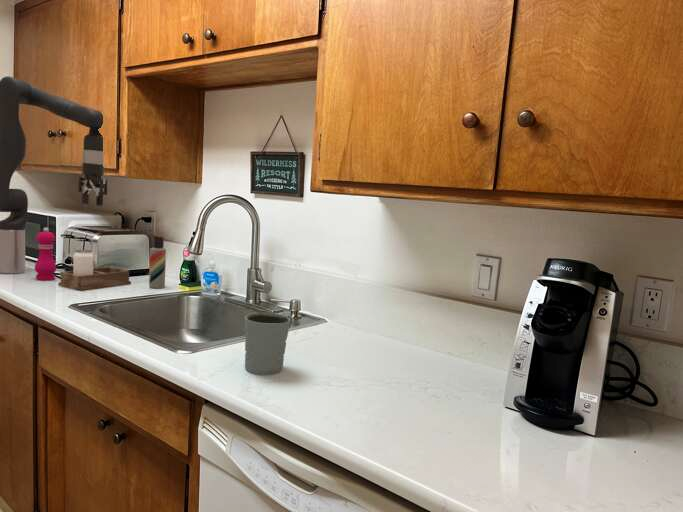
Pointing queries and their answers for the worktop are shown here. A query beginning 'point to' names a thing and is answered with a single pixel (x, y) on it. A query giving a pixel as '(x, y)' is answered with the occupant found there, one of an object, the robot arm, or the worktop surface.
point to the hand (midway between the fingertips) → (92, 204)
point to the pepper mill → (45, 256)
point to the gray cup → (265, 342)
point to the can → (83, 262)
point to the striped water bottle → (157, 263)
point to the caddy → (95, 279)
